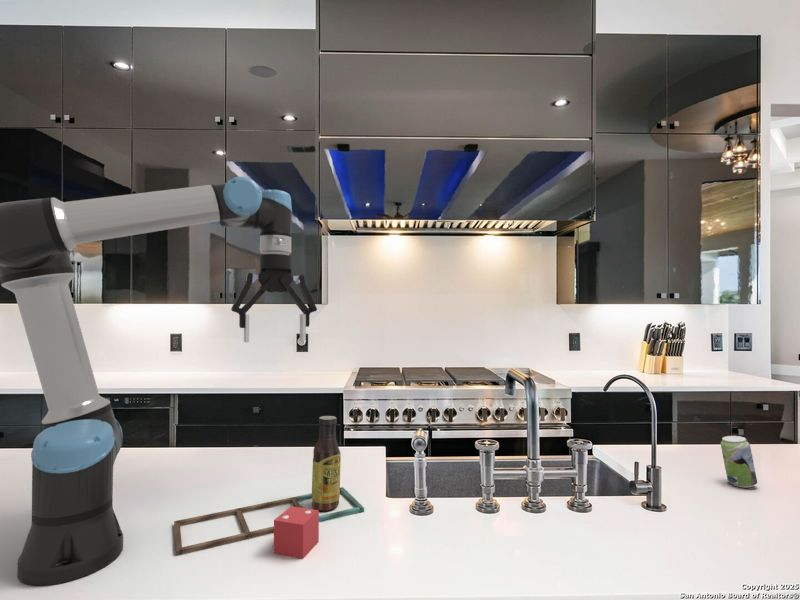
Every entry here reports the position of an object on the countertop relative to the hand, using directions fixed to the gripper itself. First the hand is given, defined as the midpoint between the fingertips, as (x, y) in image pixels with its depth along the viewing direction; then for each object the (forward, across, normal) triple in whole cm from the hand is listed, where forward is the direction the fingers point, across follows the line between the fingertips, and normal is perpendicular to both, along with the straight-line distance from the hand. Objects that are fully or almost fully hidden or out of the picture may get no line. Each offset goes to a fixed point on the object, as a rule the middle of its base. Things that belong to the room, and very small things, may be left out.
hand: (275, 341), depth 109 cm
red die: (+37, -2, -28) cm, 46 cm away
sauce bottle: (+37, +8, -13) cm, 40 cm away
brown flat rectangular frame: (+37, -4, -13) cm, 39 cm away
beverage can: (+37, +104, -52) cm, 122 cm away
